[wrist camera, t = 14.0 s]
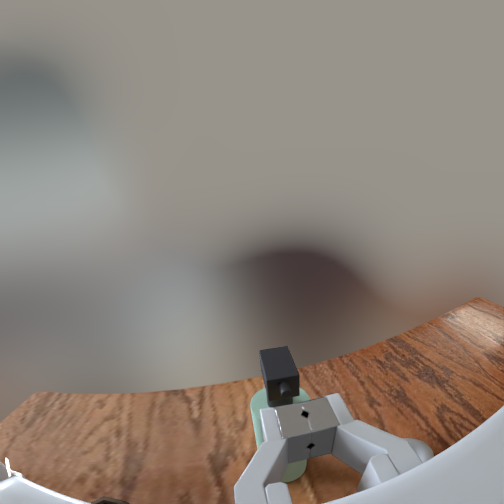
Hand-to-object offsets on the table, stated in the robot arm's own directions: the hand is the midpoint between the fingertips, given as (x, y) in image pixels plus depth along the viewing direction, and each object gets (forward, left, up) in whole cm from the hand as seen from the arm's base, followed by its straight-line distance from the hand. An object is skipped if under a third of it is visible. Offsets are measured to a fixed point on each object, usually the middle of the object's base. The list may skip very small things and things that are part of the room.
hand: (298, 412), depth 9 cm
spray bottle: (+2, +16, -32) cm, 36 cm away
